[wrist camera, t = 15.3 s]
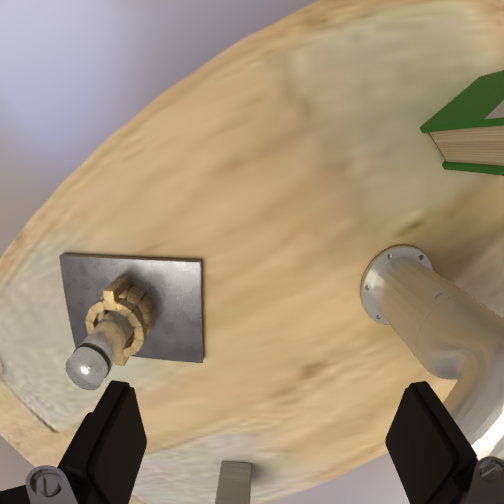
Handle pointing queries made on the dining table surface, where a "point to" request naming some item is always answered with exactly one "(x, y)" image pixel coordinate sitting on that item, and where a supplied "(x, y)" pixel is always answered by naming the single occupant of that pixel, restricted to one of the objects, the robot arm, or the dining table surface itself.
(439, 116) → the hardback book
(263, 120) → the dining table surface
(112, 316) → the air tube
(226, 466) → the skincare box
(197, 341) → the collar stand
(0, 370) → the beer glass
